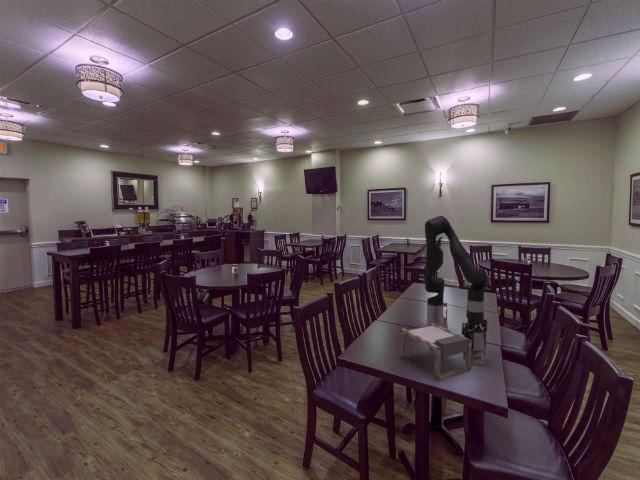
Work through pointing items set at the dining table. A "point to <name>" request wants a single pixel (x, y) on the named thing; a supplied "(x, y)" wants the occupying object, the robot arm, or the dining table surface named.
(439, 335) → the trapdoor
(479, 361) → the coffee box
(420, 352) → the dining table surface
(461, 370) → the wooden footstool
